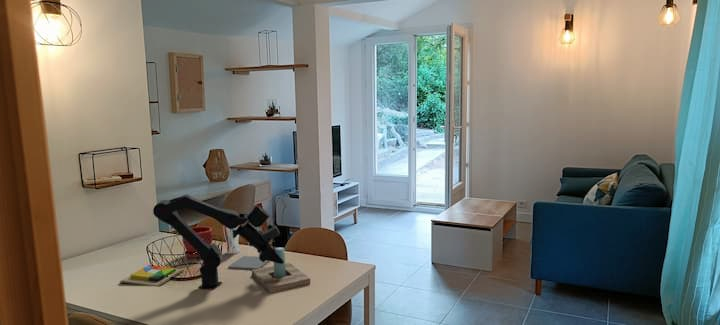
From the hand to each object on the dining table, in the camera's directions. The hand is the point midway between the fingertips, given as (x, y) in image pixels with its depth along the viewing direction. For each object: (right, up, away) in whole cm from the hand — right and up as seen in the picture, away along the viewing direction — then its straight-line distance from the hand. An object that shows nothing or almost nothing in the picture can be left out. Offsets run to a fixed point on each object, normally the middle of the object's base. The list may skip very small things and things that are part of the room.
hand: (282, 260), depth 196 cm
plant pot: (-44, -4, +35) cm, 56 cm away
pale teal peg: (-1, -7, +1) cm, 7 cm away
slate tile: (-17, -5, +20) cm, 27 cm away
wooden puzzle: (-54, -9, +8) cm, 55 cm away
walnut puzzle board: (-1, -7, +1) cm, 7 cm away
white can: (-29, -3, +38) cm, 47 cm away
